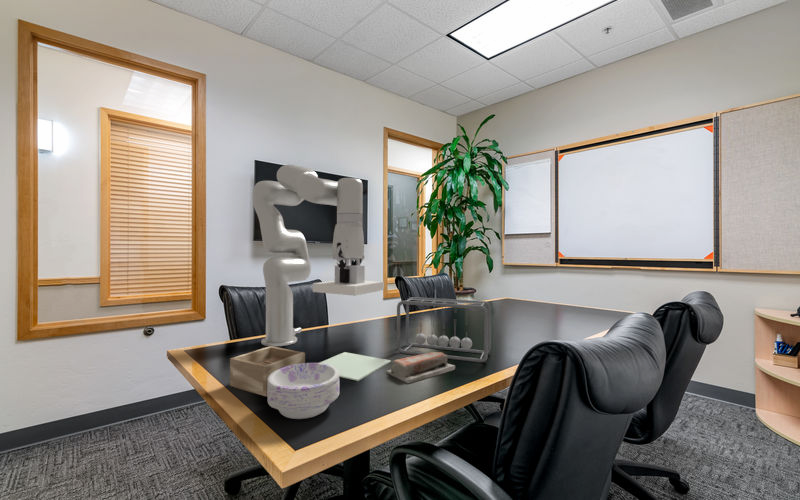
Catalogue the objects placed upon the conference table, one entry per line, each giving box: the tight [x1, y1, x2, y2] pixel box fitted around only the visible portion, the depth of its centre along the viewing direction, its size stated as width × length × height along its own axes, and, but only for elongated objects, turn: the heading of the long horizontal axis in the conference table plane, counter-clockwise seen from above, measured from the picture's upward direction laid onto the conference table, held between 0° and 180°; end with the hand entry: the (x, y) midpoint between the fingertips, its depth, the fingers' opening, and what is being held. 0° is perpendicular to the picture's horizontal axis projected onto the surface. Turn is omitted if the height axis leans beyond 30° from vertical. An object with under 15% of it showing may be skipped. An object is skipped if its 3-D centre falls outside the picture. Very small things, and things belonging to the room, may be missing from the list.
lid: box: [312, 264, 385, 297], centre depth 106 cm, size 15×15×8 cm
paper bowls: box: [266, 362, 341, 420], centre depth 78 cm, size 15×15×8 cm
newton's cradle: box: [396, 296, 492, 363], centre depth 119 cm, size 30×10×18 cm, turn 70°
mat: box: [319, 351, 392, 382], centre depth 106 cm, size 18×18×1 cm
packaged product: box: [385, 351, 456, 384], centre depth 102 cm, size 18×5×10 cm
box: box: [229, 346, 306, 397], centre depth 93 cm, size 13×13×7 cm
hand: (349, 281), depth 106 cm, fingers closed on lid, 4 cm apart
